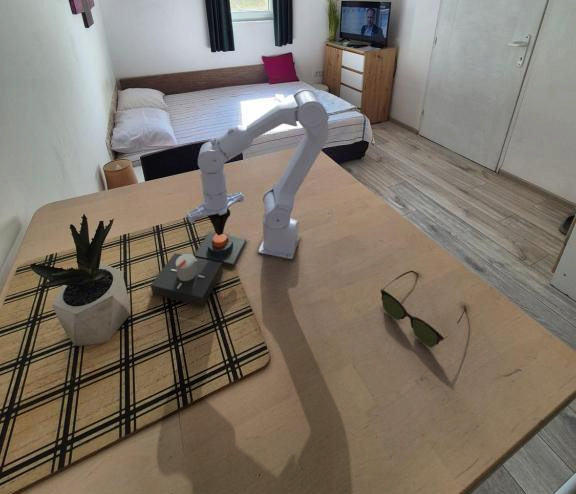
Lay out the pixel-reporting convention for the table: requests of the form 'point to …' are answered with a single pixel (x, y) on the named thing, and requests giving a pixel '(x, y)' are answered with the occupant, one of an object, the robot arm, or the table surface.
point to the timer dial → (186, 267)
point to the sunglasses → (412, 318)
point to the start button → (220, 240)
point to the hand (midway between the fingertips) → (219, 232)
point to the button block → (221, 250)
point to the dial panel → (187, 282)
